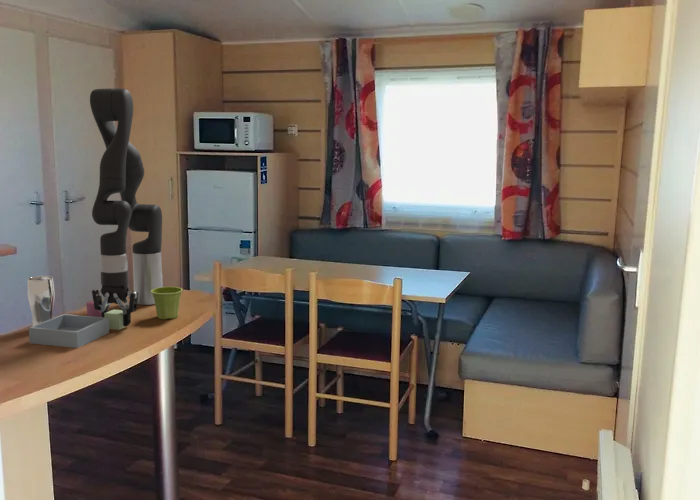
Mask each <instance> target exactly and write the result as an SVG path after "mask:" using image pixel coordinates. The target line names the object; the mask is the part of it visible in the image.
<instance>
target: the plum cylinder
mask: <svg viewBox="0 0 700 500" xmlns="http://www.w3.org/2000/svg"><path fill="white" fill-rule="evenodd" d="M86 316H92V317H102V315H101V311H100V310H96V309H95V307H94V301H93V300H90V301H87V302H86Z"/></svg>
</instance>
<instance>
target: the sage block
mask: <svg viewBox="0 0 700 500" xmlns="http://www.w3.org/2000/svg"><path fill="white" fill-rule="evenodd" d="M108 311H109V312H106V313H104V316H105V318H109V330H117V331H118V330H120V331H121V329H123V328H126V327H127V326H123V314H124V313H123V311H122V309H112V310H108Z"/></svg>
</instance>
